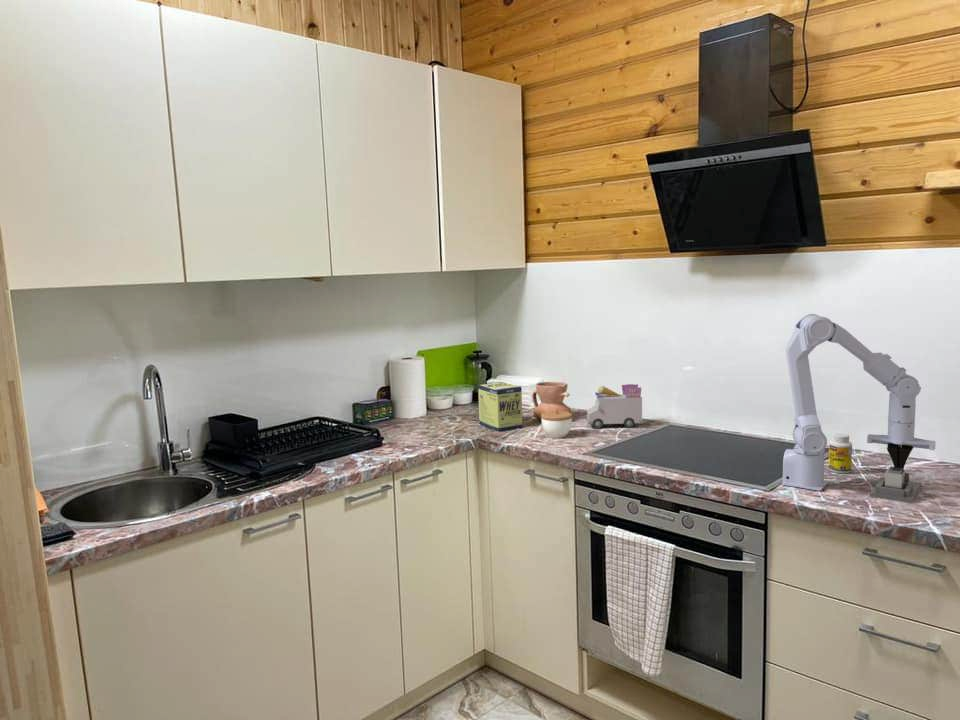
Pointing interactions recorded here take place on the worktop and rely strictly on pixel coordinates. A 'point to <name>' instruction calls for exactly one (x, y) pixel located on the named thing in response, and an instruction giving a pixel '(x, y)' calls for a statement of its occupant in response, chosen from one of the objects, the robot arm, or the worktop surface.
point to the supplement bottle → (840, 453)
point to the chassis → (896, 491)
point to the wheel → (906, 477)
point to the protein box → (500, 406)
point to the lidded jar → (556, 423)
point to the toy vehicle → (616, 407)
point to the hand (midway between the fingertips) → (899, 473)
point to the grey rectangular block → (894, 478)
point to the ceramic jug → (550, 398)
